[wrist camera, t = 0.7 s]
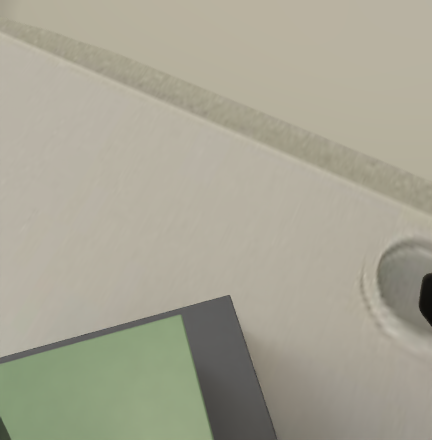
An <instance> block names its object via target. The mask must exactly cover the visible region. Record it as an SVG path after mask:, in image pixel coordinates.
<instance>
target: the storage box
mask: <svg viewBox="0 0 432 440" xmlns="http://www.w3.org/2000/svg"><path fill="white" fill-rule="evenodd" d="M176 315H182V318H183V322H184V325H185V329H186V333H187V337H188V341H189V345H190V349H191V352H192V356H193V360H194V364H195V368H196V372H197V376H198V379H199V383H200V387H201V391H202V395H203V399H204V403H205V406H206V410H207V414H208V418H209V422H210V426H211V430H212V433H213V437H214V440H277V437H276V434H275V431H274V428H273V424H272V421H271V418H270V415H269V412H268V409H267V406H266V403H265V400H264V397H263V394H262V391H261V388H260V385H259V382H258V379H257V376H256V373H255V370H254V367H253V364H252V361H251V358H250V355H249V352H248V348H247V345H246V342H245V339H244V336H243V333H242V330H241V327H240V324H239V321H238V318H237V315H236V312H235V309H234V306H233V303H232V300H231V297H230V295H227V296H223V297H220V298H216V299H213V300H209V301H205V302H202V303H198V304H194V305H191V306H187V307H183V308H180V309H176V310H172V311H169V312H165V313H161V314H158V315H154V316H150V317H147V318H143V319H140V320H136V321H132V322H129V323H125V324H121V325H118V326H114V327H110V328H107V329H103V330H99V331H96V332H92V333H88V334H85V335H81V336H77V337H74V338H70V339H67V340H63V341H59V342H56V343H52V344H48V345H45V346H41V347H37V348H34V349H30V350H26V351H23V352H19V353H15V354H12V355H8V356H5V357H1V358H0V364H2V363H6V362H10V361H13V360H17V359H20V358H24V357H28V356H31V355H35V354H38V353H42V352H46V351H49V350H53V349H57V348H60V347H64V346H67V345H71V344H75V343H78V342H82V341H86V340H89V339H93V338H96V337H100V336H104V335H107V334H111V333H114V332H118V331H122V330H125V329H129V328H133V327H136V326H140V325H143V324H147V323H151V322H154V321H158V320H161V319H165V318H169V317H172V316H176Z"/></svg>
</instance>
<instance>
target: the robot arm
mask: <svg viewBox="0 0 432 440" xmlns="http://www.w3.org/2000/svg"><path fill="white" fill-rule="evenodd" d="M419 308H420V311H421V313H422V315H423V316H424V317H425V318H426V320H427V321H428V322H429V324H430V325H431V326H432V273H429V274H426V275H425V276H424V277H423V280H422V285H421V291H420V297H419ZM0 440H11V438H10V436H9V433H8V431H7V429H6V427H5V425H4V423H3V421H2V419H1V417H0Z"/></svg>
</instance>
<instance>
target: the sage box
mask: <svg viewBox="0 0 432 440" xmlns="http://www.w3.org/2000/svg"><path fill="white" fill-rule="evenodd" d="M0 417H1V419H2V421H3V423H4V425H5V427H6V429H7V431H8V433H9V436H10V438H11V440H214V437H213V433H212V430H211V426H210V422H209V418H208V414H207V410H206V406H205V403H204V399H203V395H202V391H201V387H200V383H199V379H198V376H197V372H196V368H195V364H194V360H193V356H192V352H191V349H190V345H189V341H188V337H187V333H186V329H185V325H184V322H183V318H182V315H176V316H172V317H169V318H165V319H161V320H158V321H154V322H151V323H147V324H143V325H140V326H136V327H133V328H129V329H125V330H122V331H118V332H114V333H111V334H107V335H104V336H100V337H96V338H93V339H89V340H86V341H82V342H78V343H75V344H71V345H67V346H64V347H60V348H57V349H53V350H49V351H46V352H42V353H38V354H35V355H31V356H28V357H24V358H20V359H17V360H13V361H10V362H6V363H2V364H0Z"/></svg>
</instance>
